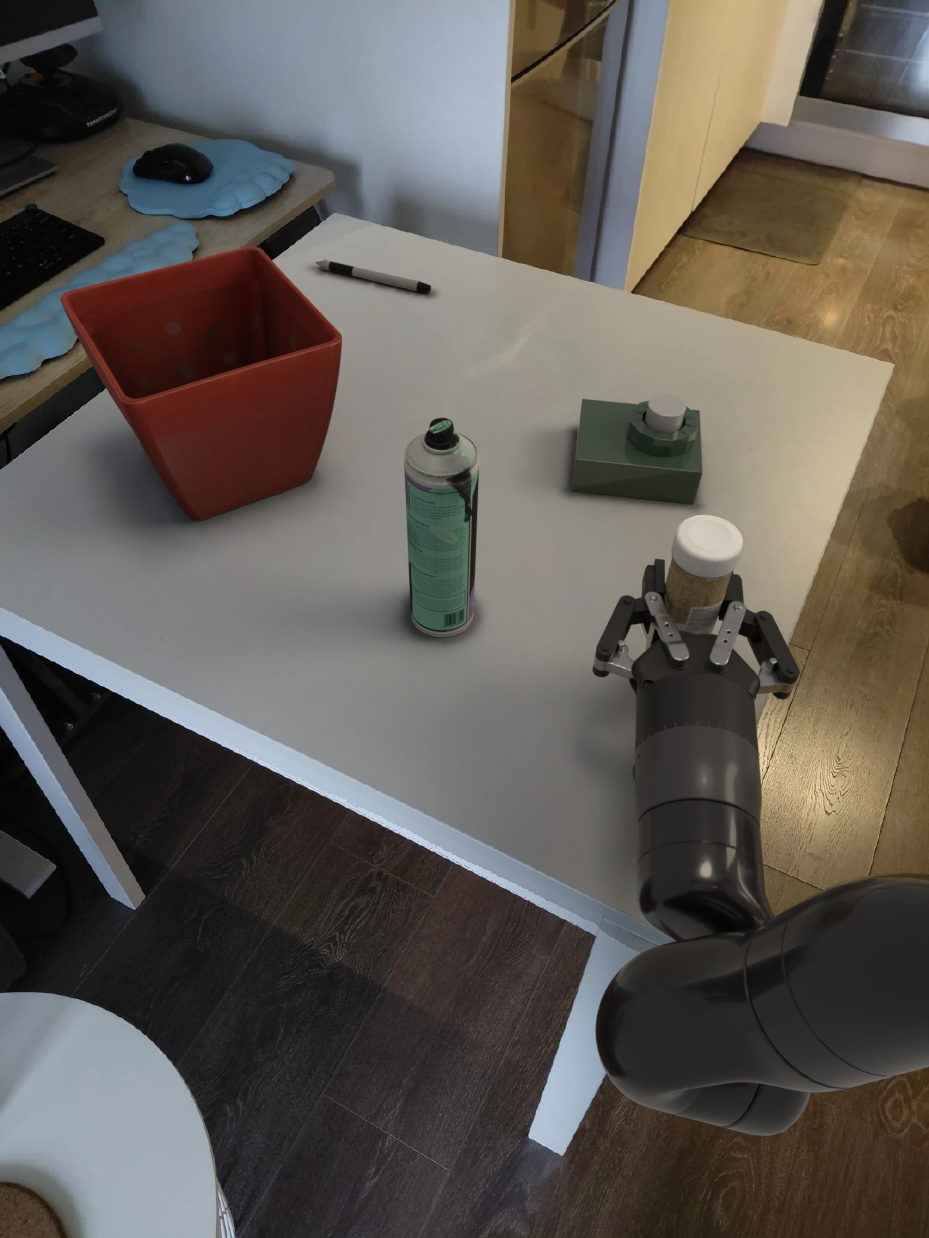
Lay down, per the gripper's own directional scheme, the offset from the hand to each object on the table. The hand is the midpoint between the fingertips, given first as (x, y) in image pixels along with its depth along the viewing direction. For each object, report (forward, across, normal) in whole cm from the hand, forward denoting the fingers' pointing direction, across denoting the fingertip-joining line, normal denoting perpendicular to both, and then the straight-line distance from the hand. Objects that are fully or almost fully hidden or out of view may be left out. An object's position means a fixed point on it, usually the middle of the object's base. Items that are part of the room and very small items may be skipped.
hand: (690, 571), depth 67 cm
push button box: (+25, +3, +10) cm, 27 cm away
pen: (+57, +37, +10) cm, 69 cm away
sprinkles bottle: (-3, 0, +7) cm, 8 cm away
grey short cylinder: (+25, +1, +5) cm, 26 cm away
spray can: (+2, +19, +11) cm, 22 cm away
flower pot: (+18, +43, +10) cm, 48 cm away
